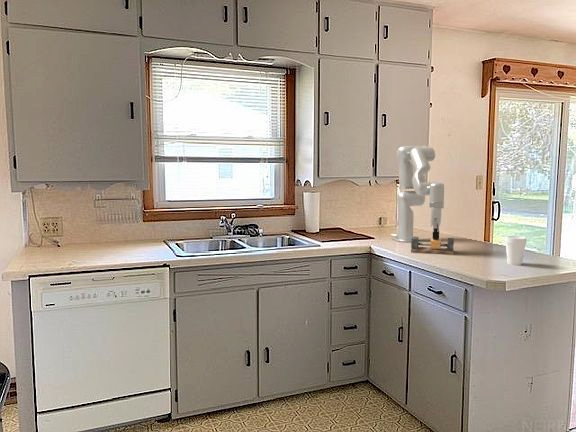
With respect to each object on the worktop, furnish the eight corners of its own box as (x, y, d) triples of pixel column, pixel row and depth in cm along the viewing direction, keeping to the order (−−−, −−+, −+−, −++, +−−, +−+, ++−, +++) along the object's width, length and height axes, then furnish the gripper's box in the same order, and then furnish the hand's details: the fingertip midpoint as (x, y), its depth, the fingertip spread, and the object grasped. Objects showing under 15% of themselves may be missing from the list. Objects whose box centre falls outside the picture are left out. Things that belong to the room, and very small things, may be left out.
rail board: (410, 252, 264) (411, 239, 263) (413, 248, 275) (413, 235, 274) (452, 254, 256) (453, 240, 255) (453, 250, 267) (453, 237, 266)
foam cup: (500, 262, 236) (501, 236, 234) (518, 261, 236) (519, 235, 235) (510, 266, 226) (511, 239, 225) (529, 265, 227) (530, 238, 226)
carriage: (430, 248, 262) (430, 229, 261) (431, 246, 268) (431, 228, 267) (440, 248, 260) (440, 230, 259) (440, 246, 267) (441, 228, 265)
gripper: (430, 204, 271) (429, 236, 273) (428, 206, 256) (427, 240, 258) (444, 204, 268) (443, 236, 270) (442, 206, 253) (442, 241, 255)
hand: (435, 238), depth 264 cm, fingers closed on carriage, 2 cm apart
